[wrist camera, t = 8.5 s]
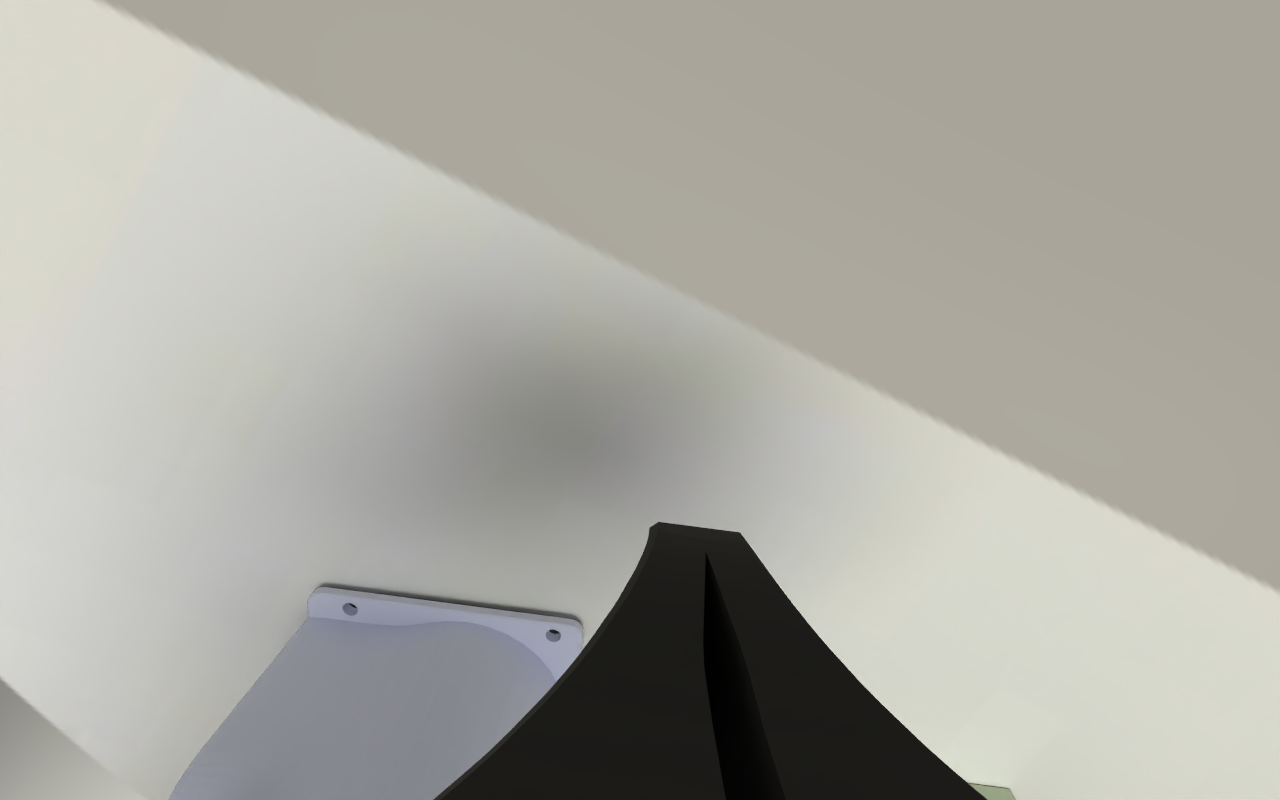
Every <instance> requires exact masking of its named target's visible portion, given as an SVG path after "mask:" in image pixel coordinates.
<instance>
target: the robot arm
mask: <svg viewBox="0 0 1280 800" xmlns="http://www.w3.org/2000/svg"><path fill="white" fill-rule="evenodd" d="M349 603H352V604H354V605H355V606H356V607H357V608H354V607H352V606H351V605H349ZM307 605H308V619H307V620H306V621H305V622H304V624H303V625H302V626H301V627H300V629H299V630H298V631H297V632H296V633H295V635H294V636H293V637H292V638H291V640H290V641H289V642H288V643H287V645H286V646H285V647H284V648H283V649H282V651H281V652H280V653H279V654H278V656H277V657H276V658H275V659H274V661H273V662H272V663H271V664H270V665H269V667H268V668H267V669H266V670H265V672H264V673H263V674H262V675H261V676H260V678H259V679H258V680H257V681H256V683H255V684H254V685H253V686H252V688H251V689H250V690H249V691H248V692H247V694H246V695H245V696H244V697H243V699H242V700H241V701H240V702H239V704H238V705H237V706H236V707H235V708H234V710H233V711H232V712H231V713H230V715H229V716H228V717H227V718H226V720H225V721H224V722H223V723H222V724H221V726H220V727H219V728H218V729H217V731H216V732H215V733H214V734H213V735H212V737H211V738H210V739H209V740H208V742H207V743H206V744H205V745H204V747H203V748H202V749H201V750H200V752H199V753H198V754H197V756H196V757H195V758H194V760H193V761H192V762H191V764H190V765H189V767H188V768H187V770H186V771H185V773H184V774H183V776H182V777H181V779H180V781H179V782H178V784H177V785H176V787H175V789H174V791H173V792H172V794H171V796H170V798H169V800H987V799H986V798H985V797H984V796H983V795H981V794H980V793H979V792H978V791H977V790H975V789H974V788H973V787H972V786H971V785H969V784H968V783H967V782H966V781H965V780H963V779H962V778H961V777H960V776H959V775H957V774H956V773H955V772H954V771H953V770H952V769H951V768H949V767H948V766H947V765H946V764H945V763H944V762H943V761H942V760H940V759H939V758H938V757H937V756H936V755H935V754H934V753H932V752H931V751H930V750H929V749H928V748H927V747H926V746H925V745H924V744H923V743H922V742H921V741H919V740H918V739H917V738H916V737H915V736H914V735H913V734H912V733H911V732H910V731H909V730H908V729H907V728H906V727H905V726H904V725H903V724H902V723H901V722H900V721H899V720H897V719H896V718H895V717H894V716H893V715H892V714H891V713H890V712H889V711H888V710H887V709H886V708H885V707H884V706H883V705H882V704H881V703H880V702H879V701H878V700H877V699H876V698H875V697H874V696H873V695H872V694H871V693H870V692H869V691H868V690H867V689H866V688H865V687H864V686H863V685H862V684H861V683H860V682H859V681H858V680H857V679H856V677H855V676H854V675H853V674H852V673H851V672H850V671H849V670H848V669H847V667H846V666H845V665H844V664H843V663H842V662H841V661H840V660H839V659H838V657H837V656H836V655H835V654H834V653H833V652H832V651H831V650H830V649H829V648H828V646H827V645H826V644H825V643H824V642H823V641H822V639H821V638H820V637H819V636H818V635H817V634H816V632H815V631H814V630H813V629H812V628H811V626H810V625H809V624H808V623H807V621H806V620H805V619H804V618H803V616H802V615H801V614H800V613H799V611H798V610H797V609H796V608H795V606H794V605H793V604H792V603H791V601H790V600H789V599H788V597H787V596H786V595H785V593H784V592H783V591H782V589H781V588H780V587H779V585H778V584H777V583H776V581H775V580H774V579H773V577H772V576H771V574H770V573H769V572H768V570H767V569H766V568H765V566H764V565H763V563H762V562H761V561H760V559H759V558H758V556H757V555H756V554H755V552H754V551H753V550H752V548H751V547H750V545H749V544H748V543H747V541H746V540H745V539H744V537H743V536H742V535H741V533H739V532H731V531H724V530H716V529H708V528H701V527H693V526H685V525H677V524H670V523H662V522H658V523H656V524H655V525H653V526H652V527H650V530H649V536H648V541H647V544H646V547H645V550H644V552H643V554H642V557H641V559H640V561H639V563H638V565H637V567H636V569H635V571H634V573H633V575H632V576H631V578H630V580H629V582H628V583H627V585H626V587H625V589H624V590H623V592H622V594H621V595H620V597H619V599H618V601H617V602H616V604H615V605H614V607H613V608H612V610H611V611H610V613H609V614H608V615H607V617H606V618H605V620H604V621H603V623H602V624H601V625H600V627H599V628H598V630H597V631H596V633H595V634H594V635H593V637H592V638H591V640H590V641H589V642H588V644H587V645H586V646H585V648H584V649H583V650H582V644H583V635H584V631H583V627H582V625H581V624H580V623H579V622H577V621H576V620H572V619H567V618H560V617H552V616H544V615H536V614H529V613H521V612H513V611H506V610H498V609H490V608H483V607H475V606H467V605H459V604H452V603H444V602H436V601H429V600H421V599H413V598H406V597H398V596H390V595H383V594H375V593H367V592H359V591H352V590H344V589H336V588H329V587H320V588H317V589H315V591H314V592H313V593H312V594H311V595H310V597H309V598H308V602H307ZM553 629H554V630H557V631H558V632H559V634H553V633H551V632H550V631H549V630H553Z"/></svg>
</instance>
